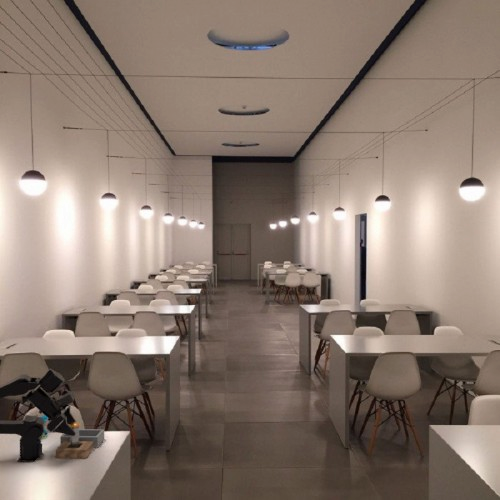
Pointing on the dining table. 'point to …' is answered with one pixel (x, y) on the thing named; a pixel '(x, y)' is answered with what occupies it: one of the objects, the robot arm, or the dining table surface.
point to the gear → (45, 422)
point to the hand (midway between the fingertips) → (76, 430)
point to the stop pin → (74, 439)
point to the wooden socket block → (74, 450)
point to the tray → (87, 436)
